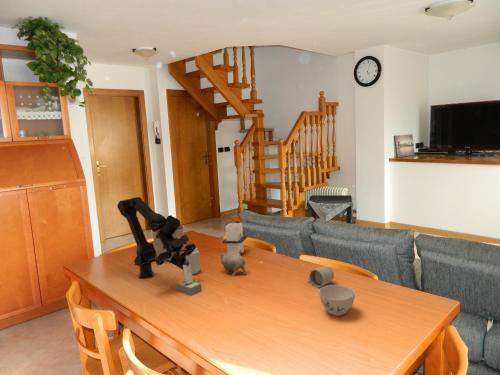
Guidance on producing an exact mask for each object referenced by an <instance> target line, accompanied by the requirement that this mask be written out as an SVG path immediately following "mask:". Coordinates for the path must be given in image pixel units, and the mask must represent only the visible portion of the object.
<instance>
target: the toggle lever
mask: <svg viewBox="0 0 500 375" xmlns="http://www.w3.org/2000/svg"><path fill="white" fill-rule="evenodd" d="M183 275H184V281H185V283H187V284H188V283H191V282H193V281H194V279H193V274H192V272H191V265H190V263H189V261H184V263H183Z"/></svg>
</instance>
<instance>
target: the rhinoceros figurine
mask: <svg viewBox="0 0 500 375" xmlns="http://www.w3.org/2000/svg"><path fill="white" fill-rule="evenodd" d="M220 259H221V264H222V265H223V269H224V270H225V272H224V275H228V274H229V273H230V272H229V270H233V272H232V275H231V276H233V277H234V276H237V275H236V274H238V272H239V270H240V269H241V270H242V272H243V274H242V275H243V276H245V275H247V273H248V272H247V270H246V267H245V265H246V261H245V259H244V256H242V255H241V254H240V255H236V254H232V255H228V251H226V252H225V253H221V257H220Z"/></svg>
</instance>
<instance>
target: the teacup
mask: <svg viewBox="0 0 500 375" xmlns="http://www.w3.org/2000/svg"><path fill="white" fill-rule="evenodd" d="M355 293H356V292H355V290H354V289H353V288H350V287H348V286H346V285H342V284H326V285H324V286H322V287H319V290H318V295H319V300H320V302H321V305H322V307H323V308H324V309H325V310H326V311H327V312H328V314H330V315H332V316H337V317H338V316H340V317H341V316H343V315H345V314H346V313H347V312H348V311H349V310H350V309H351V308H352V305H353V303H354V301H355V296H356V294H355Z"/></svg>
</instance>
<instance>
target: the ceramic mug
mask: <svg viewBox="0 0 500 375" xmlns="http://www.w3.org/2000/svg"><path fill="white" fill-rule="evenodd" d="M307 279H308V282H309V283H311V284H312V285H313V287H315V288H319V289H320V288H322V287H323V286H327V285H329V284H330V283H331V282H333V280H334V279H335V275H334V271H333V269H332V268H331V267H330V266H321V267H317V268H313V269H312V270H311V271H310V272H309V276H308V278H307Z"/></svg>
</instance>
